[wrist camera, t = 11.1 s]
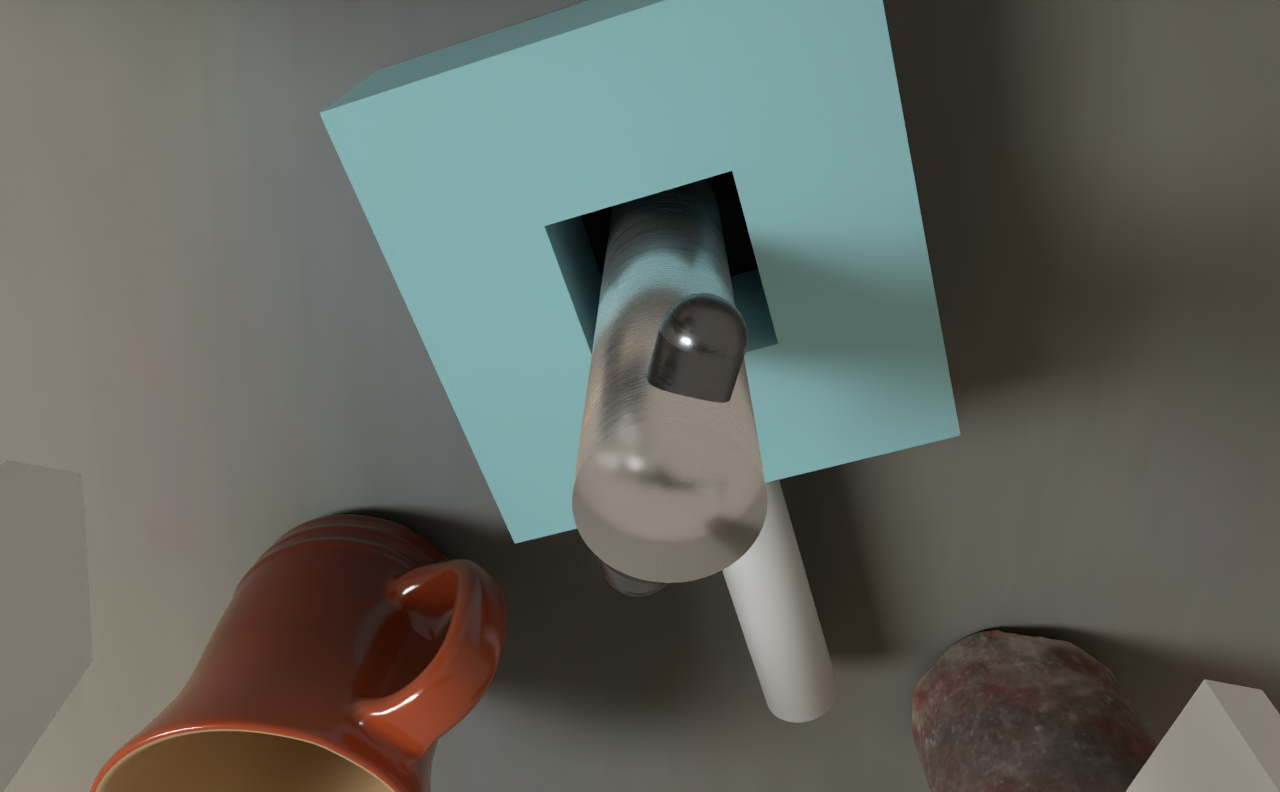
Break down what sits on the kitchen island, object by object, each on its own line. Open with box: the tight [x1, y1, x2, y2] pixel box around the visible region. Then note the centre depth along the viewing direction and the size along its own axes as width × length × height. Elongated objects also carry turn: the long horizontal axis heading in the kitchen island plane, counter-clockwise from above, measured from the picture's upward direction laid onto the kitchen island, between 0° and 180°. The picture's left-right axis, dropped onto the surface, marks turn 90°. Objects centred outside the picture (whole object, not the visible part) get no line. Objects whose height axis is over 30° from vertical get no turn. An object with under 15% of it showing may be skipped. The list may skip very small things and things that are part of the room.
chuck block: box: [320, 0, 960, 723], centre depth 27 cm, size 22×12×5 cm, turn 17°
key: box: [572, 179, 768, 597], centre depth 21 cm, size 6×3×14 cm, turn 167°
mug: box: [90, 514, 508, 792], centre depth 29 cm, size 12×9×10 cm
